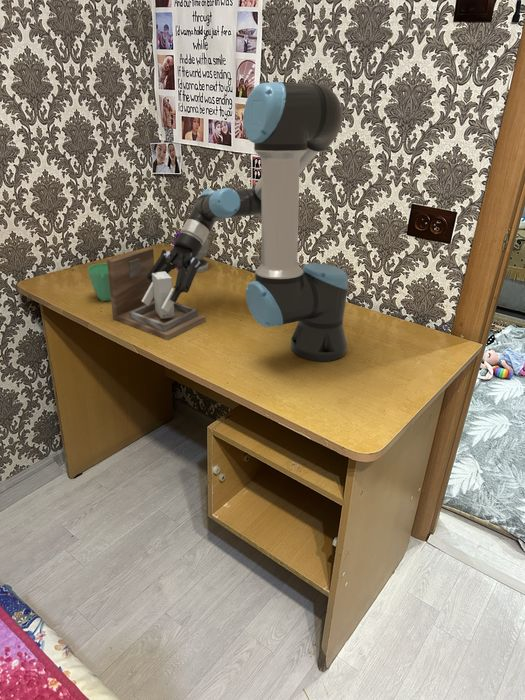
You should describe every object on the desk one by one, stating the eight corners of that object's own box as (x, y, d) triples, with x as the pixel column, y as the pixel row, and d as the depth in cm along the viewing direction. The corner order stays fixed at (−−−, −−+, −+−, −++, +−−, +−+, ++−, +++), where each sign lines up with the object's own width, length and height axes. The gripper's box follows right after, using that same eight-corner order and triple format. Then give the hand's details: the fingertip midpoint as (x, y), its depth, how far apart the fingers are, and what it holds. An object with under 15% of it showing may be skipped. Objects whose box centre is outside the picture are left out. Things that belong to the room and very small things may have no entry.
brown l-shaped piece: (205, 321, 158) (204, 263, 149) (167, 340, 146) (164, 278, 137) (151, 302, 168) (148, 247, 160) (112, 318, 156) (107, 260, 148)
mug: (99, 306, 164) (96, 275, 159) (85, 296, 170) (82, 266, 166) (141, 296, 173) (139, 266, 168) (127, 287, 179) (124, 258, 174)
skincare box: (175, 317, 153) (173, 277, 148) (160, 319, 152) (157, 279, 146) (168, 309, 158) (166, 270, 153) (153, 311, 156) (151, 272, 151)
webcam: (172, 262, 203) (170, 224, 196) (204, 260, 207) (204, 222, 200) (177, 274, 192) (176, 233, 185) (212, 271, 196) (212, 231, 189)
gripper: (223, 252, 153) (187, 321, 149) (172, 239, 163) (137, 304, 159) (212, 238, 147) (174, 310, 143) (159, 225, 157) (122, 292, 152)
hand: (154, 306), depth 151 cm, fingers closed on skincare box, 7 cm apart
